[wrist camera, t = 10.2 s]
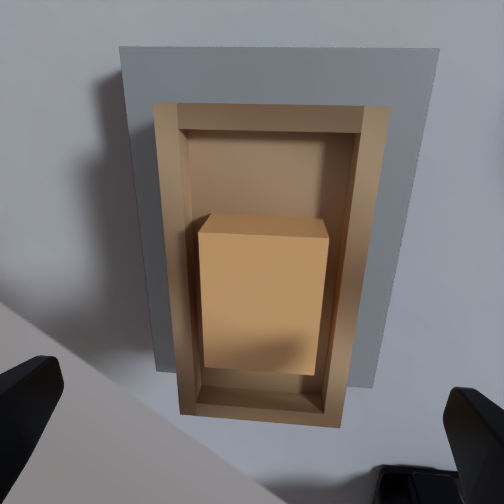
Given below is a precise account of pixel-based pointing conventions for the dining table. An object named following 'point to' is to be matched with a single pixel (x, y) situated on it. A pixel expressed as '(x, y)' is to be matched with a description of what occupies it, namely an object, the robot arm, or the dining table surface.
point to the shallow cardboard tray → (274, 204)
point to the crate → (262, 291)
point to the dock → (294, 93)
